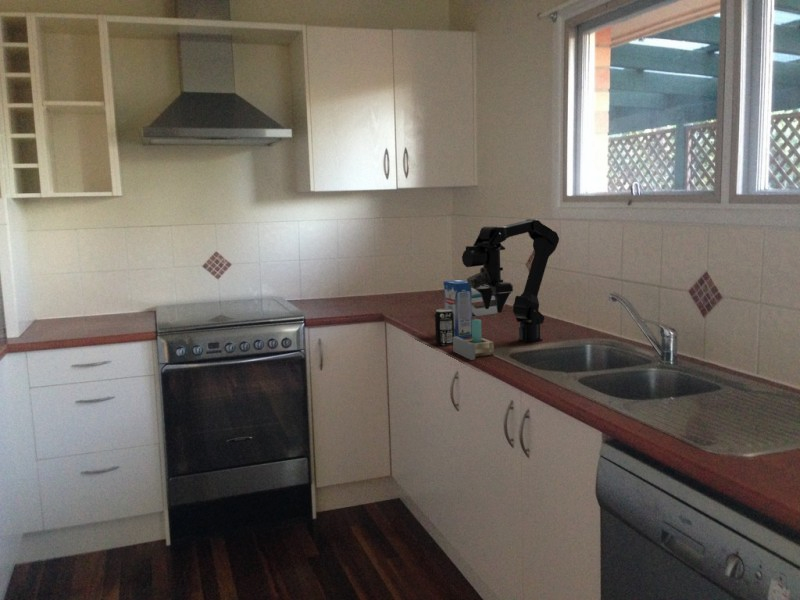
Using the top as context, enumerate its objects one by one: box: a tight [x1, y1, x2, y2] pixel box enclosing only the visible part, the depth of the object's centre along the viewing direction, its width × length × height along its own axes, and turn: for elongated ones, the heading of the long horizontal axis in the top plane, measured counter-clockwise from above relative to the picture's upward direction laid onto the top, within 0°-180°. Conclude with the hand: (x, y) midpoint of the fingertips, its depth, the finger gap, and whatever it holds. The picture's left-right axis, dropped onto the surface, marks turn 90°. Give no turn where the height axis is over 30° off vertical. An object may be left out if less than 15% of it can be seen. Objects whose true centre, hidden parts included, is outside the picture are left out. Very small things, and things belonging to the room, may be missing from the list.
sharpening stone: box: [471, 288, 510, 317], centre depth 313 cm, size 25×8×11 cm, turn 117°
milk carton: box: [443, 279, 473, 339], centre depth 266 cm, size 10×6×20 cm, turn 23°
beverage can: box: [434, 308, 455, 346], centre depth 253 cm, size 7×7×12 cm
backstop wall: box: [452, 336, 476, 361], centre depth 234 cm, size 2×14×5 cm, turn 19°
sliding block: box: [466, 337, 495, 358], centre depth 236 cm, size 8×8×4 cm
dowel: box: [471, 318, 482, 343], centre depth 235 cm, size 3×3×10 cm
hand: (493, 310), depth 243 cm, fingers open, 9 cm apart
